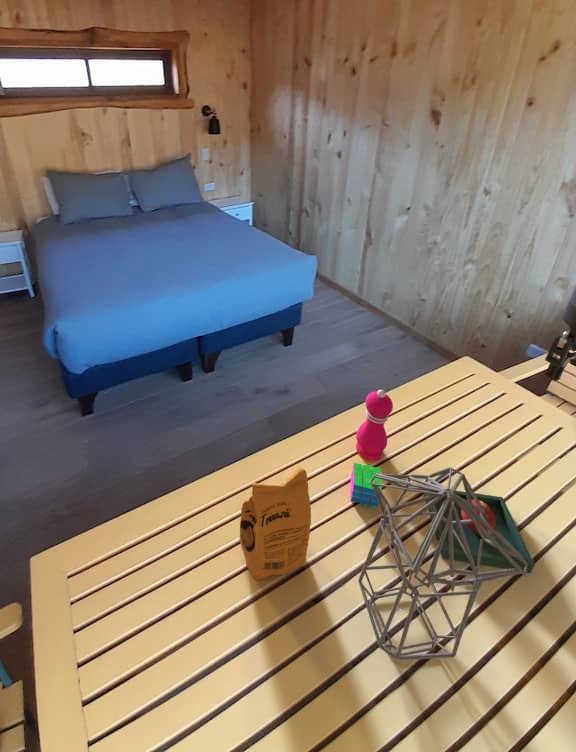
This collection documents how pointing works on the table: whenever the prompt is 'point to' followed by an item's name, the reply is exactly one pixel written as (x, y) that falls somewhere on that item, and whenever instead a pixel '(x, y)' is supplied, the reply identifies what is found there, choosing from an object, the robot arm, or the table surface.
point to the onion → (488, 511)
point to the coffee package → (276, 526)
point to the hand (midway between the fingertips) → (564, 371)
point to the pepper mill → (374, 426)
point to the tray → (489, 552)
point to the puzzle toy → (364, 484)
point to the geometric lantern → (417, 562)
